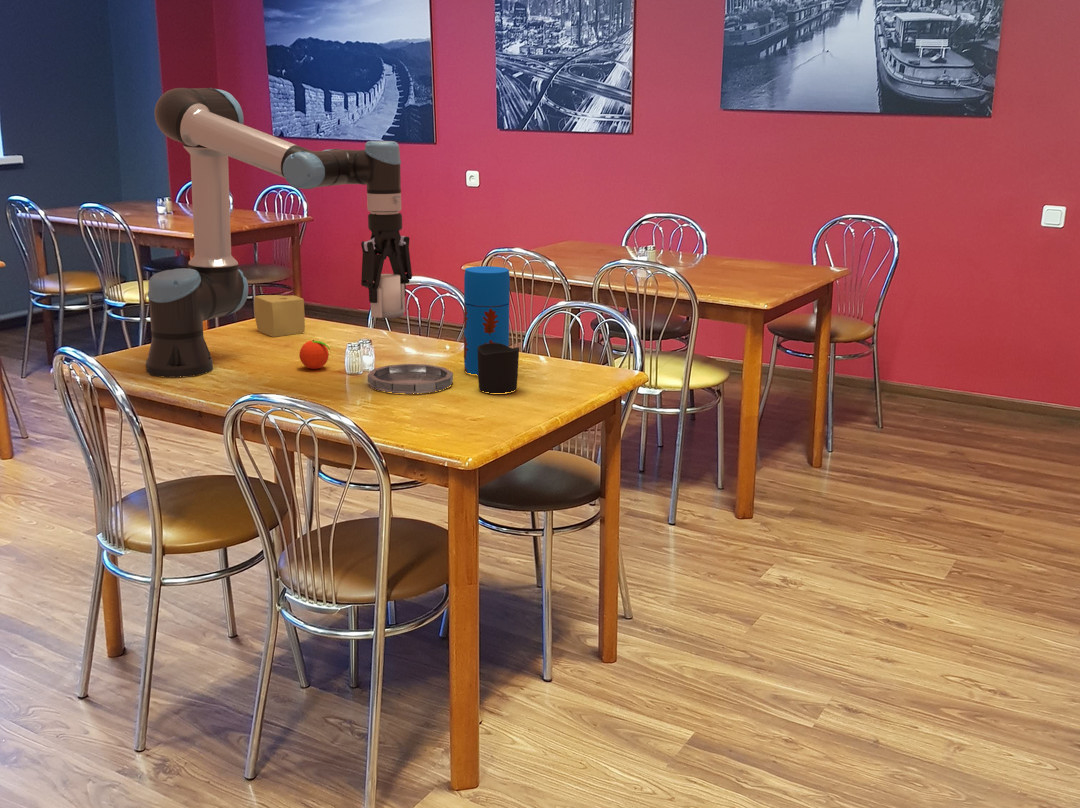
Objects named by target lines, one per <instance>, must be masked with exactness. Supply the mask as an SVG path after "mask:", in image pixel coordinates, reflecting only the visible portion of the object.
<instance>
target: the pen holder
mask: <svg viewBox="0 0 1080 808" xmlns="http://www.w3.org/2000/svg"><path fill="white" fill-rule="evenodd" d="M477 350H478V377H477V378H478V379H477V380H478V389H480V390H481V391H484V392H489V393H505V392H511V391H514V390H516V391H517V389H518V387H517V386H518V378H519V377H518V374H519V355H520V347H518V346H517V347H514V348H512V347H510V346H509V347H508V346H506V345H504V344H500V343H488V344H482V345H479V346H478V347H477ZM480 390H479V391H480ZM481 391H480V392H481Z"/></svg>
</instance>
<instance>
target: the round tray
mask: <svg viewBox="0 0 1080 808" xmlns="http://www.w3.org/2000/svg"><path fill="white" fill-rule="evenodd" d="M453 380H454V372H453V371H451V370H449V369H447V368H446V367H444V366H437V365H433V364H426V363H425V364H423V363H420V364H419V363H403V364H402V363H401V364H392V365H391V364H390V365H389V364H388V365H385V366H381V367H376V368H373V369H371V371H370V372H369V373H368V374H367V382H368V385H369V387H370V386H371V387H372V388H374V389H376V390H375V391H377V390H379V391H378V392H380V391H385V392H392V393H405V394H413V393H414V394H417V393H419V394H418V395H421V394H420V393H429V392H435V391H439V390H443V389H445V388H447V387H449V386H450V385H451V384H452V385H453ZM371 387H370V388H371ZM372 388H371V389H372ZM374 389H373V390H374ZM443 391H444V390H443ZM435 393H436V392H435ZM429 394H430V393H429Z"/></svg>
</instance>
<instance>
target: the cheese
mask: <svg viewBox="0 0 1080 808" xmlns="http://www.w3.org/2000/svg"><path fill="white" fill-rule="evenodd" d="M253 313H254V319H255V324H256V328H257V329H256V330H257V332H258V331H259V333H262V334H265V335H267V336H271V337H273V338H275V337H276V338H277V337H285V335H286V336H290V335H291V334H293V335H297V334H296V333H301V334H304V333H305V332H306V331H305V329H306V328H305V327H306V326H305V325H306V324H305V323H306V322H305V301H304V298H302V297H300V296H297V295H293V294H292V295H281V294H274V295H273V294H263V295H254V299H253ZM303 332H304V333H303Z"/></svg>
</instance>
